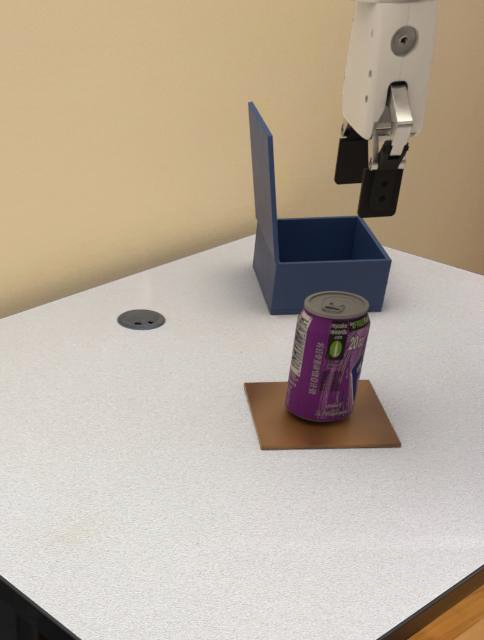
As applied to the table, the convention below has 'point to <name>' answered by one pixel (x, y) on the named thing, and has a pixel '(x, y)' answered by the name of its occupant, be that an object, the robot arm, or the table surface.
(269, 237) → the lunchbox lid
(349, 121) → the robot arm
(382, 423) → the cork mat
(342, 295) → the beverage can
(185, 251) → the table surface
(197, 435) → the table surface
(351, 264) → the box
